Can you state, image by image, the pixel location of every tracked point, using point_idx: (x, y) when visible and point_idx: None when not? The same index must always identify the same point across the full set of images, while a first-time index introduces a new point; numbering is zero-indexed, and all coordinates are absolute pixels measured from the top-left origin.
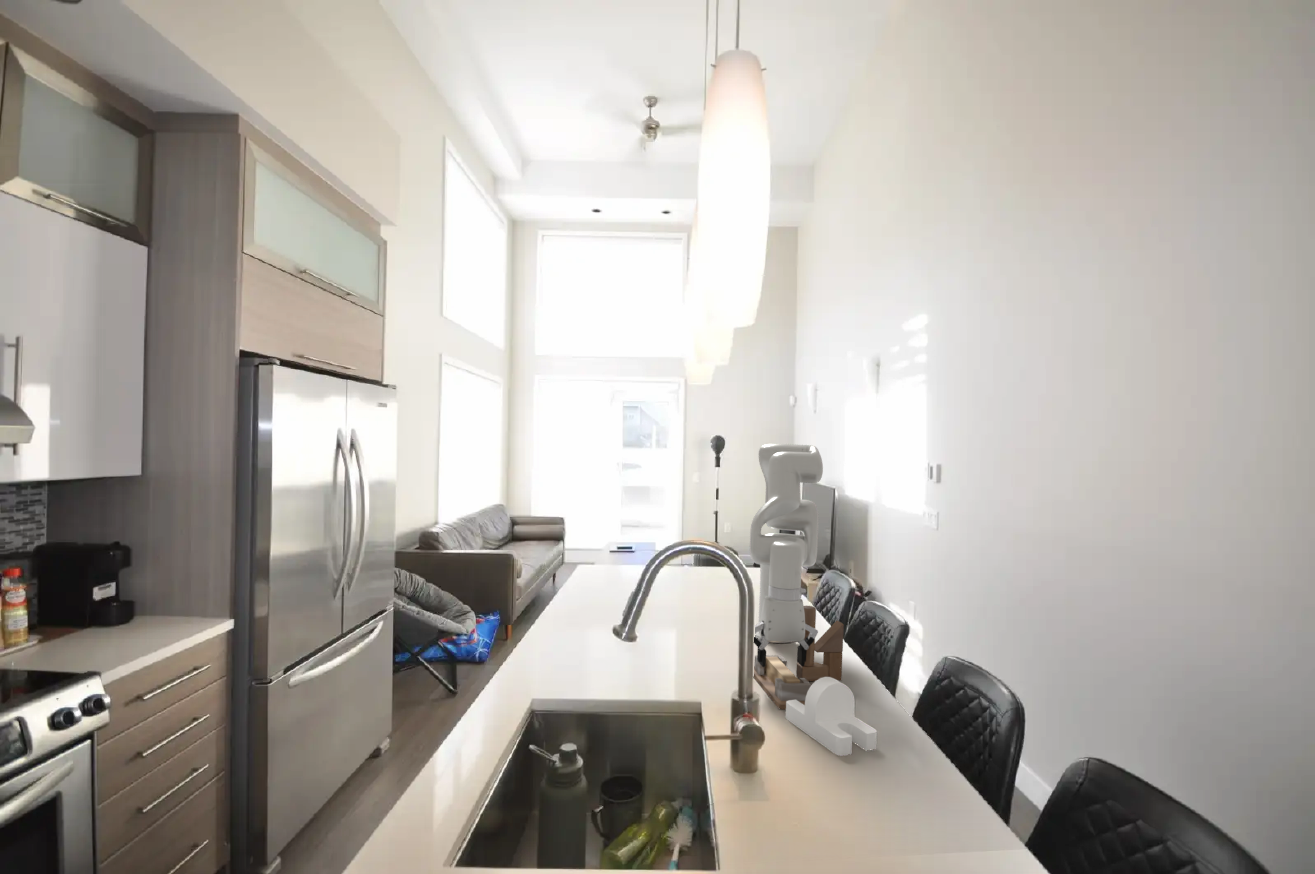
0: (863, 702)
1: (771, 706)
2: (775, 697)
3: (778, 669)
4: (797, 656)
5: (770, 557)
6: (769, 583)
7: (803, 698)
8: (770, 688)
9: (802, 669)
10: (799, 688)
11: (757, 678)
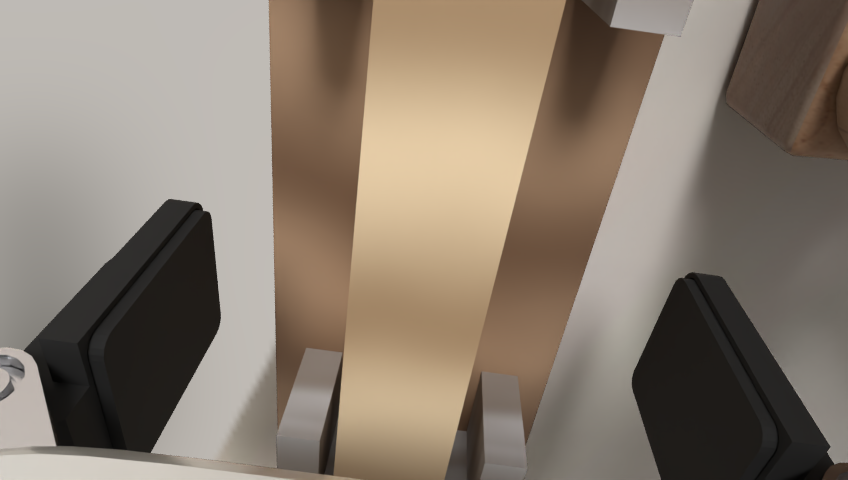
0: (841, 459)
1: (252, 406)
2: (288, 391)
3: (362, 345)
4: (700, 328)
5: None
6: None
7: None
8: (308, 270)
9: (778, 145)
10: None
11: (270, 31)
